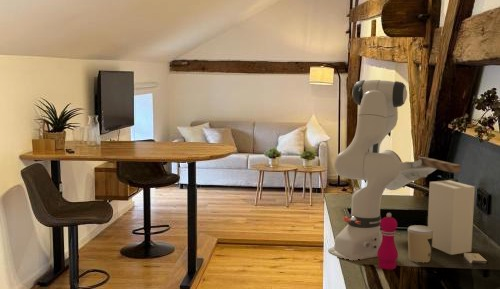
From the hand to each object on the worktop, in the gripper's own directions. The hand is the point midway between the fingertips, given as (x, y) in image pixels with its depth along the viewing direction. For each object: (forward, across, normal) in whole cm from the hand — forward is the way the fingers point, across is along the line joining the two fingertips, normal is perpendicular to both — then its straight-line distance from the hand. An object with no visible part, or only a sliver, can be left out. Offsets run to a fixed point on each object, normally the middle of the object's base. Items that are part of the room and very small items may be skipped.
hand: (426, 160), depth 231 cm
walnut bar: (+5, 0, +5) cm, 7 cm away
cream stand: (-3, 0, +36) cm, 37 cm away
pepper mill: (+5, -36, +41) cm, 55 cm away
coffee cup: (+3, -20, +40) cm, 45 cm away
